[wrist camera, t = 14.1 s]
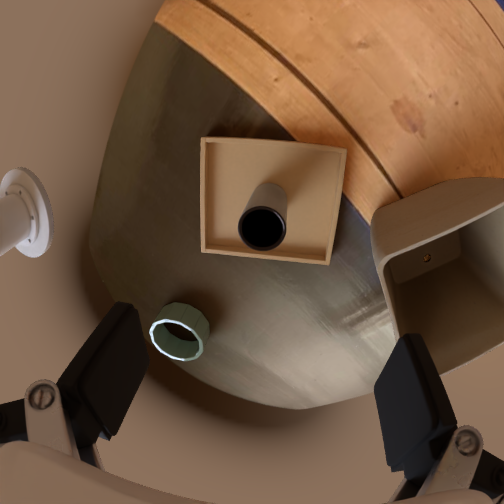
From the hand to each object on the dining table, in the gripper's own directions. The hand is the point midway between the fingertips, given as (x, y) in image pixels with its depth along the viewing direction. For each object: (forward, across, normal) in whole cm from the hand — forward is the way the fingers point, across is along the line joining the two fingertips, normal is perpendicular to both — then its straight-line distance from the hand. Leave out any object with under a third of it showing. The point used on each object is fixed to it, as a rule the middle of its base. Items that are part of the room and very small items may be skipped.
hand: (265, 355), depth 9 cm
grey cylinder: (+28, +1, +2) cm, 28 cm away
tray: (+28, +1, +2) cm, 28 cm away
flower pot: (+28, -21, +5) cm, 35 cm away
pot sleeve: (+28, +14, +26) cm, 41 cm away
